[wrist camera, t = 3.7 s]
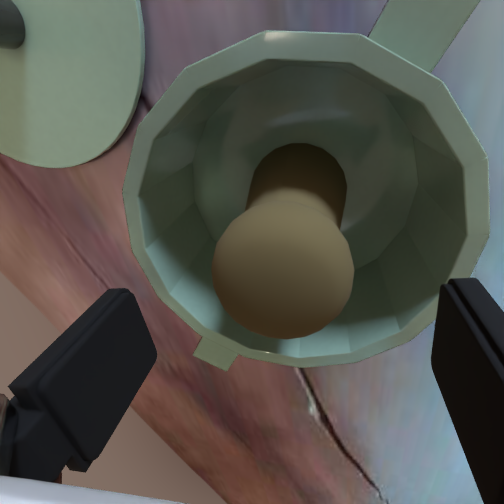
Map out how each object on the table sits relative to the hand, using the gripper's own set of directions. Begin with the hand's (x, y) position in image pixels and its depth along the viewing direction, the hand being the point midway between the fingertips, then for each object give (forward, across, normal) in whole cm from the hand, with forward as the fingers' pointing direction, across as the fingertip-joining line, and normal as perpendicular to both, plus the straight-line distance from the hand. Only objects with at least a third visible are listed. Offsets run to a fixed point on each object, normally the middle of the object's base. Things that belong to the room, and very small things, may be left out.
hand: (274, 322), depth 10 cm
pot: (+12, 0, 0) cm, 12 cm away
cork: (+12, 0, 0) cm, 12 cm away
